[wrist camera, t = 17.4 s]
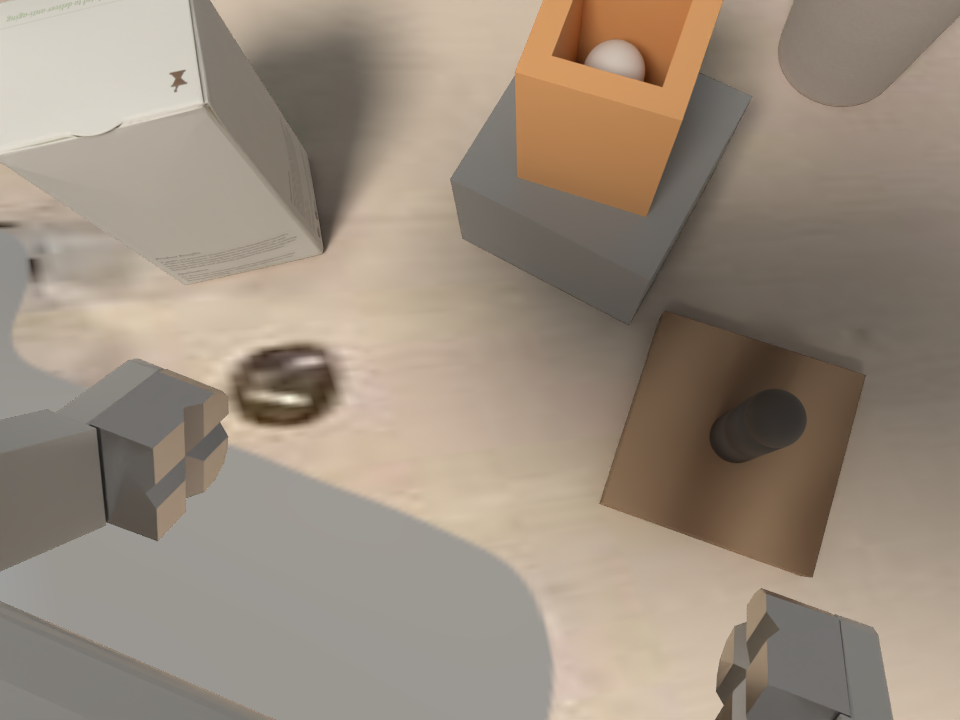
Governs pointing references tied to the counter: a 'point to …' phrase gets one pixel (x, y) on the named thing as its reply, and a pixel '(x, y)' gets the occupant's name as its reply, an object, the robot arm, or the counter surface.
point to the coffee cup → (857, 44)
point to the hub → (582, 222)
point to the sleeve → (607, 96)
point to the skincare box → (155, 133)
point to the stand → (735, 443)
